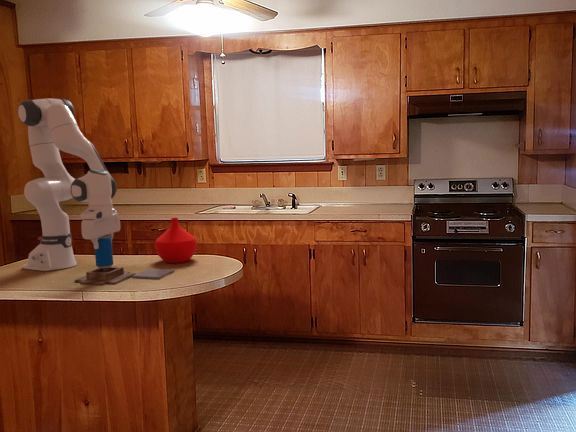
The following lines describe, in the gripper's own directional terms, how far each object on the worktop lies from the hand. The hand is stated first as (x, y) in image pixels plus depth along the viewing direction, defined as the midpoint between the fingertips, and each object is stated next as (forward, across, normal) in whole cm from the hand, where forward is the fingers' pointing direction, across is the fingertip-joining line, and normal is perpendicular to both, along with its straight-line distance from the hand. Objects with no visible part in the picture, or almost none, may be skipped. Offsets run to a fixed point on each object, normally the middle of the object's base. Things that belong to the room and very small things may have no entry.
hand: (103, 246), depth 221 cm
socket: (+13, +1, +1) cm, 13 cm away
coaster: (+12, -8, +17) cm, 22 cm away
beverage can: (+8, 0, 0) cm, 8 cm away
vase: (+13, -33, +14) cm, 38 cm away
